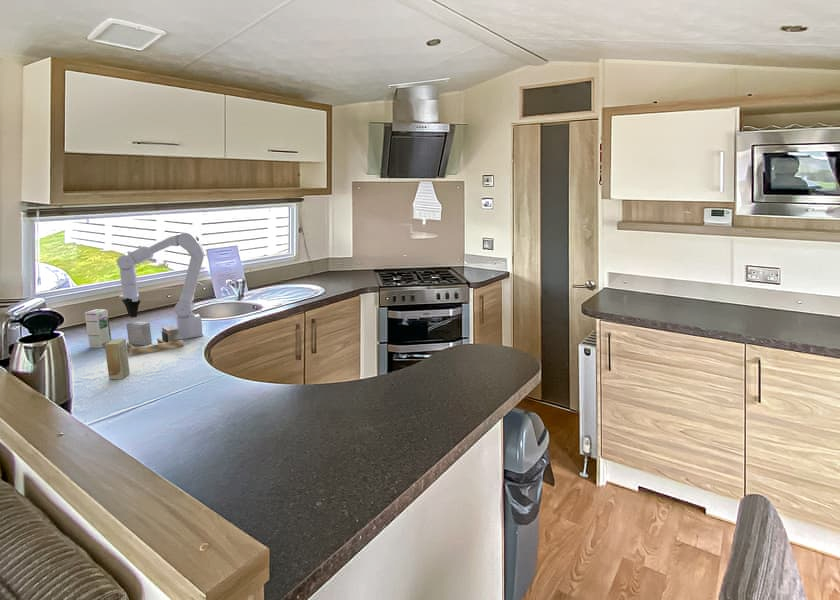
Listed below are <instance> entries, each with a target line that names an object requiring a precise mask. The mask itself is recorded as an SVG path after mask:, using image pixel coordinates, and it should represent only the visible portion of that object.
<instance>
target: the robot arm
mask: <svg viewBox="0 0 840 600" xmlns="http://www.w3.org/2000/svg"><path fill="white" fill-rule="evenodd" d="M179 246H180V247H181V248H182V249H183V250H185V251H186V252H187V253H188V255H189V256H190V259H189V264H188V268H187V271H186V276H185V280H184V283H183V287H182V291H181V294H180V297H179V299H178V302H177V303H176V304H175V306H174V309H173V310H174V313H175V319H176V328H178V329H179V339H180V340H184V339H185V340H186V339H191V338H197V337H203V336H204V334H203V324H202V318H201V316H200V314H199V313H197V314H195V312H193V310H194V309H195V303H194V300H195V292H196V288H197V285H198V282H199V277H200V273H201V270H202V266H203V265H202V264H203V261H204V257H205V252H204V249H203V246H202V243H201V240H200V237H199V236H198V235H197V234H196V233H195V232H194V231H191V230H187V231H184V232H181V233H177V234H173V235H171V236H168V237H166V238H164V239H162V240H161V241H158V242H156V243H154V244H152V245H150V246H149V245H146V244H145V245H142V244H140V245H139V246H138V248H136V249H134V250H129V251H126V252H127V253H125V254H122V255H120V256H119V257H118V258H117V261H116V264H117V266H118V268H119V275H120V282H121V283H120V285H121V292H122V293H121V294H119V295H118V296H119V298H124V299H122V300H121V301H122V303H123V304H124V306H125V308H126V311H127V315H128V316H129V317H131V318H132V319H133V318H137V317H138V311H139V306H140V304H141V299H139V296H140V294H139V288H138V278H137V272H136V271H137V270H136V265H140V264H142V263H144V262H146V261H148V260H151V259H153V257H154V254H155V253H157V252H158V253H159V251H162V250H165V249H166V248H169V247H179Z"/></svg>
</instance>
